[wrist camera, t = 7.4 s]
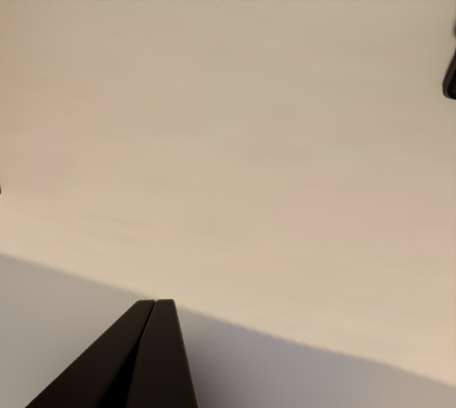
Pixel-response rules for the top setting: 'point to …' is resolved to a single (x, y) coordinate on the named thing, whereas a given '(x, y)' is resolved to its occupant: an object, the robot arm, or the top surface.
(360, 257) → the top surface
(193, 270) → the top surface
